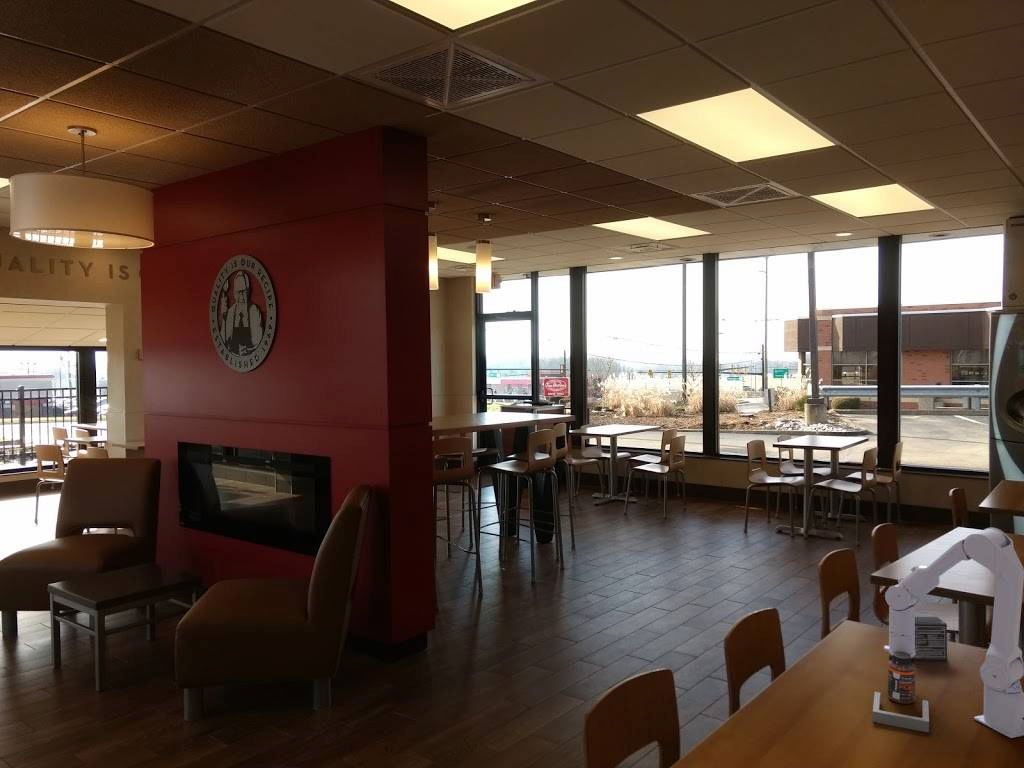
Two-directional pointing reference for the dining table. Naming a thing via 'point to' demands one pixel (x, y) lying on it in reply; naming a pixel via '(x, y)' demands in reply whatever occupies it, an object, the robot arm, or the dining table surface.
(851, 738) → the dining table surface
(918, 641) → the small box
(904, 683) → the supplement bottle
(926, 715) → the grey u-shaped bracket
